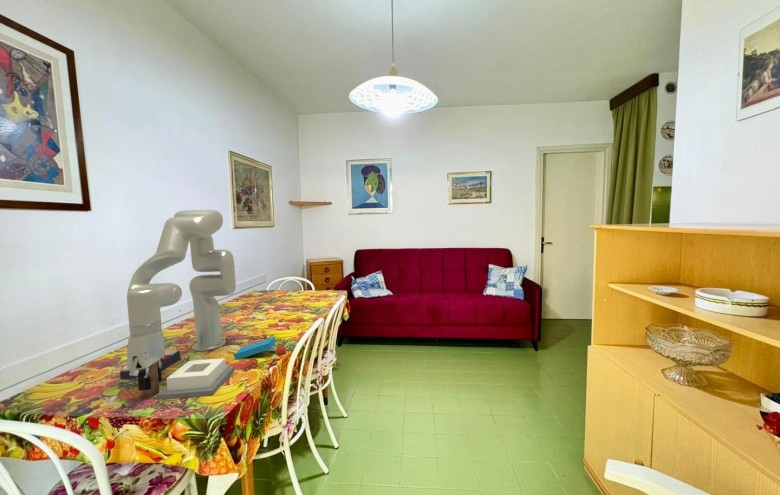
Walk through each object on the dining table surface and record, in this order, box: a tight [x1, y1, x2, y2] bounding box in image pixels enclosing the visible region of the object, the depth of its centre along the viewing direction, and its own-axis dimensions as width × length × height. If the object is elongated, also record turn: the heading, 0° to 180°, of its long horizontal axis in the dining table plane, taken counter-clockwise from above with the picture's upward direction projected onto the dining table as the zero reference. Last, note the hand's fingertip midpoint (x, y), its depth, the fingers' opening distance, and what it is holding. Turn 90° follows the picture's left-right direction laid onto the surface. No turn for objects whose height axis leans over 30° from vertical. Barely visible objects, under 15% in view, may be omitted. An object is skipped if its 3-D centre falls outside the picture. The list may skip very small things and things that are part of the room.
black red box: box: [119, 349, 181, 380], centre depth 108 cm, size 11×4×15 cm
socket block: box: [155, 357, 235, 401], centre depth 95 cm, size 16×16×6 cm
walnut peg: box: [141, 362, 160, 399], centre depth 90 cm, size 4×4×10 cm
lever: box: [233, 336, 286, 361], centre depth 117 cm, size 7×7×18 cm
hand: (150, 385), depth 90 cm, fingers closed on walnut peg, 4 cm apart
